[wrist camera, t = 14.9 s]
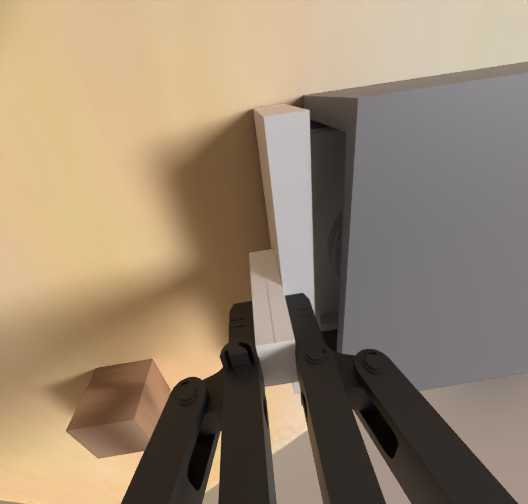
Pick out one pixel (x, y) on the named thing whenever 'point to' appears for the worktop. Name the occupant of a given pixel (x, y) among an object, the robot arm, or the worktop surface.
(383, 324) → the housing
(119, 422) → the block
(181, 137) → the worktop surface
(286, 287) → the tray
